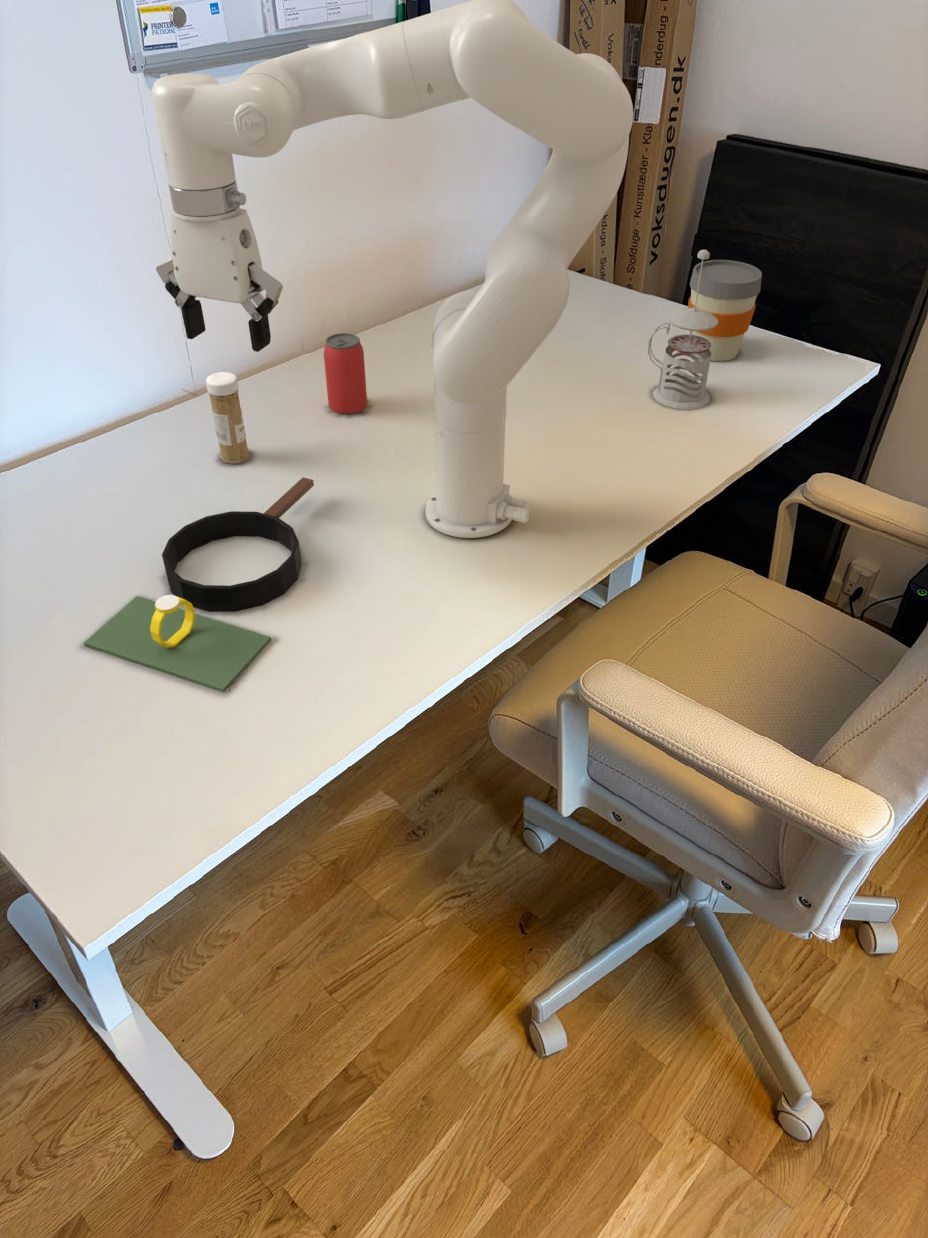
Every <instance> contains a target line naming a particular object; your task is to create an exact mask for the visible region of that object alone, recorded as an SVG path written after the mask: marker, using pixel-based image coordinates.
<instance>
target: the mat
mask: <svg viewBox="0 0 928 1238" xmlns="http://www.w3.org/2000/svg"><path fill="white" fill-rule="evenodd" d="M155 603H156V601H155V600H152V599H149V598H145V597H142V596H138V595H136V596H135V597H134V598H133V599H132V600H130V601H129V602H128V603H127V604H126V605H125V606H124V607H123V608H121V609H120V610H119V611H117V613H116V614H115V615H113V617H111V618H110V619H109V620H108V621H107V622H105V623H104V624H103V625H102V626H101V627H100V628H99V629H98V630H96V631H95V632H94V633H93V634H92V635H91V636H90V637H89V638H87V639H86V640H85V641H84V642H83V645H84V647H87V648H90V649H93V650H96V651H98V652H102V653H105V654H108V655H111V656H114V657H117V658H120V659H123V660H125V661H129V662H131V663H135V664H138V665H141V666H144V667H146V668H150V669H153V670H155V671H159V672H162V673H165V674H168V675H170V676H172V677H173V676H174V677H176V678H180V679H183V680H185V681H189V682H191V683H194V684H198V685H201V686H204V687H207V688H209V689H212V690H214V691H215V690H216V691H218V692H222V693H225V692H226V691H227V690H228V688H229V687H230V686H231V685H232V684H233V683H234V682H235V681H236V680H237V679H238V678H239V676H240V675H241V674H242V673H243V672H244V671H245V670H246V669H247V668H248V667H249V665H250V664H251V663H252V662H253V661H254V660H255V659H256V658H257V657H258V656H259V655H260V653H261V652H262V651H263V650H264V649H265V648H266V647H267V646H268V644H269V643H270V642H271V641H272V637H271V636H269V635H265V634H262V633H259V632H255V631H253V630H249V629H247V628H243V627H240V626H237V625H232V624H230V623H226V622H224V621H220V620H217V619H214V618H211V617H207V616H203V615H200V614H198V613H195V622H194V625H193V628H192V630H191V632H190V634H188V635H187V636H186V637H185V638H184V639H183V640H181V641H180V642H179V643H178V644H177V645H176V646H175V647H172V648H167V647H164V646H162V645H160V644H158V643H157V642H155V641H154V640H153V639H152V635H151V632H150V630H151V629H150V627H151V620H152V617H153V615H154V613H155V611H156V607H155ZM184 620H185V609H181V608H178V610H176V611H175V612H173V613H169V614H166V615H165V617H164V619H163V621H162V624H161V631H160V633H161V637H162V640H163V641H168V640H169V639H170V638H171V637H172V636H173V635H174V634H175V633H176V632H178V631H179V630H180V629H181V627H182V625H183V622H184Z"/></svg>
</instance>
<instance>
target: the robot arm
mask: <svg viewBox="0 0 928 1238" xmlns="http://www.w3.org/2000/svg"><path fill="white" fill-rule="evenodd" d="M151 99H152V105H153V111H154V115H155V121H156V126H157V132H158V137H159V142H160V148H161V153H162V157H163V163H164V168H165V174H166V178H167V179H166V180H167V183H168V189H169V194H170V201H171V206H172V208H171V210H170V211H169V237H170V248H171V257H172V258H170V259H168V260H166V261H164V262H163V263H161V264H159V265H157V266H156V269H155V270H156V272H157V274H158V276H159V278H160V280H161V281H162V283H163V284H164V288H165V290H166V291H167V293H168V294H169V295H170V296H171V297H172V298H173V299H174V304H175V306H176V307H177V308H180V311H181V315H182V321H183V325H184V330H185V336H186V338H187V339H188V340H194V339H195V338H196V337H198V336H200V335H202V334H204V333H205V332H206V324H205V317H204V312H203V306H202V303H201V300H200V299H197V298H203V299H209V300H215V301H220V302H226V303H233V304H240V305H241V307H243V309H244V310H245V312H246V313H247V314H248V315H249V316H250V319H249V320H248V323H247V324H248V330H249V337H250V343H251V349H252V350H253V352H256V353H259V352H261V351H262V350H263V349H264V348H266V347H267V346H269V345H270V344H271V339H272V338H271V337H272V335H271V328H270V322H269V321H270V320H269V314H271V313H272V311H273V309H275V308H276V306H277V305H278V304H279V299H280V297H281V294H282V291H283V288H284V286H283V283H282V282H281V281H279V280H278V279H276V278H275V277H273V276H272V275H270V274H269V273H268V272H267V271H265V270H264V268H263V264H262V258H261V254H260V250H259V245H258V241H257V237H256V234H255V231H254V228H253V227H254V226H253V225H252V221H251V219H250V216H249V213H248V211H247V209H245V208H241V206H245V204H246V202H247V196H246V194H245V193H244V192H240V191H239V190H238V183H237V179H236V173H235V172H236V171H235V165H234V164H235V163H234V157H233V155H235V156H242V157H248V158H258V159H259V158H267V157H272V156H274V155H276V154H278V153H279V152H281V151H282V150H283V149H284V148H285V146H286V145H287V144H288V142H289V141H290V138H291V136H292V134H293V133H294V131H296V130H299V129H302V128H305V127H308V126H311V125H315V124H318V123H322V122H325V121H328V120H329V121H330V120H332V119H336V118H342V117H347V116H356V115H364V116H371V117H374V118H377V119H381V120H382V119H383V120H397V119H402V118H406V117H409V116H412V115H416V114H419V113H422V112H425V111H428V110H431V109H435V108H439V107H442V106H445V105H448V104H452V103H455V102H459V101H464V100H467V99H472V100H473V101H475V102H476V103H477V104H479V105H480V106H481V107H483V108H484V109H486V110H487V111H489V112H490V113H492V114H493V115H495V116H496V117H498V118H499V119H501V120H503V121H504V122H506V123H508V124H509V125H511V126H513V127H515V128H516V129H518V130H520V131H522V132H523V133H525V134H526V135H528V136H529V137H531V138H533V139H535V140H536V141H538V142H540V143H541V144H543V145H544V146H546V147H548V148H550V149H551V150H552V152H551V155H550V158H549V160H548V162H547V164H546V166H545V168H544V171H543V172H542V173H541V175H540V176H539V178H538V179H537V182H536V183H534V186H533V188H532V189H531V190H530V192H529V194H528V195H527V196H526V197H525V199H524V200H523V202H522V203H521V205H520V206H519V207H518V208H517V210H516V212H515V213H514V214H513V215H512V217H511V218H510V220H509V221H508V222H507V224H506V225H505V226H504V227H503V229H502V230H501V231H500V232H499V234H498V235H497V236H496V238H494V240H493V241H492V243H491V244H490V246H489V248H488V250H487V253H486V256H485V259H484V282H483V284H482V285H481V287H480V289H479V290H463V291H460V292H457V293H455V294H453V295H451V296H449V297H448V298H447V299H446V300H445V301H444V302H443V303H442V304H441V306H440V307H439V309H438V311H437V313H436V314H435V316H434V320H433V324H432V331H431V368H432V374H433V393H434V394H433V405H434V406H433V407H434V408H433V409H434V416H433V417H434V420H433V421H434V424H433V425H434V466H435V467H434V469H435V471H434V473H435V492H434V494H433V495H431V496H430V497H429V499H428V500H427V501H426V503H425V509H424V510H425V512H424V513H425V518H426V520H427V523H428V524H429V525H430V526H431V527H432V528H434V529H435V530H436V531H437V532H440V533H442V534H444V535H447V536H449V537H450V536H451V537H455V538H461V539H462V538H463V539H478V538H485V537H488V536H489V537H490V536H492V535H495V534H497V533H500V532H501V531H503V530H504V529H506V528H507V527H509V525H510V524H511V523H512V521H516V522H520V523H522V524H523V523H524V524H527V523H528V521H529V518H530V515H531V514H530V513H531V512H530V509H528V508H527V507H528V500H525V499H521V498H516V497H515V498H514V497H513V495H511V494H510V493H511V492H510V490H511V489H510V488H511V485H509V484H507V483H504V477H505V476H504V473H505V472H504V471H505V445H506V417H507V397H508V396H507V395H508V393H507V389H508V385H509V384H510V383H511V382H512V381H513V380H514V379H515V377H516V376H517V375H518V373H519V372H520V371H521V370H522V368H523V367H524V366H525V365H526V364H527V363H528V361H529V360H530V359H531V357H532V356H533V355H534V354H535V352H537V350H538V348H539V347H540V346H541V345H542V344H543V342H544V341H545V340H546V339H547V337H548V336H549V335H550V334H551V332H552V331H553V330H554V329H555V327H556V325H558V322H559V321H560V320H561V317H562V315H563V313H564V311H565V309H566V306H567V304H568V300H569V296H570V278H569V273H568V269H569V266H570V265H571V263H572V261H573V260H574V259H575V257H576V256H577V254H578V253H579V251H580V250H581V249H582V248H583V246H584V245H585V244H586V242H587V240H588V239H589V238H590V237H591V235H592V233H593V232H594V231H595V229H596V228H597V227H598V225H599V223H600V222H601V221H602V219H603V218H604V216H605V215H606V213H607V211H608V210H609V209H610V207H611V205H612V203H613V201H614V199H615V197H616V195H617V193H618V191H619V189H620V186H621V183H622V181H623V177H624V174H625V169H626V166H627V161H628V155H629V154H628V153H629V145H630V144H629V143H630V134H631V130H632V127H633V122H634V108H633V107H634V105H633V102H632V97H631V94H630V93H629V90H628V88H627V86H626V85H625V84H624V82H623V81H622V79H621V77H620V75H619V73H618V72H617V70H616V68H615V67H614V66H613V65H612V64H610V63H609V61H607V59H605V58H603V57H602V56H600V55H598V54H594V53H590V52H589V53H587V52H583V53H575V52H574V51H572V50H570V49H569V48H567V47H565V46H564V45H562V44H561V43H559V42H557V40H554V39H553V38H551V37H550V36H549V35H547V34H546V33H545V32H543V31H541V30H540V29H539V28H538V27H536V26H535V25H534V24H532V23H531V22H530V21H529V19H528V17H527V15H526V14H525V13H524V11H523V10H522V8H520V6H519V5H518V4H516V3H515V2H514V1H513V0H468V1H465V2H461V3H459V4H455V5H452V6H449V7H446V8H443V9H439V10H436V11H432V12H430V13H427V14H423V15H420V16H417V17H414V18H410V19H407V20H404V21H400V22H397V23H394V24H390V25H386V26H384V27H380V28H376V29H372V30H370V31H365V32H361V33H357V34H354V35H352V36H349V37H346V38H342V39H338V40H334V41H329V42H325V43H322V44H317V45H314V46H311V47H306V48H304V49H300V50H297V51H294V52H291V53H287V54H283V55H280V56H277V57H274V58H271V59H267V60H265V61H262V62H259V63H256V64H254V65H253V66H251V67H249V68H247V70H245V71H244V72H243V73H242V74H241V75H240V76H239V78H237V79H236V80H234V81H233V80H232V81H231V82H228V83H227V82H226V83H220V82H219V81H218V80H217V79H216V78H215V77H213V76H211V75H208V74H205V73H195V72H193V73H190V72H188V73H187V72H186V73H185V72H184V73H175V74H169V75H168V74H167V75H165V76H162V77H160V78H158V79H156V80H155V81H154V83H153V85H152V88H151ZM264 290H265V296H263V295H262V293H261V292H263V291H264Z"/></svg>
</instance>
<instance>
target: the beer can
mask: <svg viewBox="0 0 928 1238" xmlns="http://www.w3.org/2000/svg"><path fill="white" fill-rule="evenodd" d="M364 351H365V350H364V348H363V345H362V343H361V339H360V337H359V336H358V335H356V334H353V333H349V332H348V333H347V332H341V333H335V334H334V333H333V334H332V335H330V336H328V337H327V338H326V339H325V345H324V348H323V363H324V372H325V373H324V374H325V383H326V393H327V395H326V396H327V404H328V407H329V409H330V410H331V411H332V412H334V413H335V414H339V415H344V416H347V415H349V416H350V415H354V414H355V415H356V414H358V413H361V412H362V411H364V410H365V409H366V407H367V406H368V395H367V380H366V379H367V378H366V366H365V365H366V364H365V352H364Z"/></svg>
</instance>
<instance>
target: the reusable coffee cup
mask: <svg viewBox="0 0 928 1238" xmlns="http://www.w3.org/2000/svg"><path fill="white" fill-rule="evenodd" d="M701 263H702V261H701V262H698V263H697V264H695V266H694V267H693V269H692V273H691V277H690V282H689V287H690V297H688V305H687V306H688V307H687V308H695V301H696V295H697V289H698V282H699V276H700V270H701ZM762 275H763V273H762V271H761V270H760V269H759V268H758V267H756V266H755V265H753V264H749V263H746V262H741V261H737V260H730V259H712V260H706V261H703V266H702V272H701V278H700V284H699V291H698V297H697V303H696V308H698V309H703V310H705V311H708V312H710V313H711V314H712V315H713V316H714V317H716V318H717V319H718V324H717V325H716V326H715V327H714V328H713V329H711V330H708V331H692V334H693V335H695V336H696V335H697V336H699V337H702V338H705V339H707V340H708V341H709V342H710V343H711V347H710V348H709V350H710V351H711V359H710V362H725V361H730V360H733V359H735V358H737V356H738V354H739V351H740V348H741V345H742V342H743V339H744V335H745V333H747V332H748V330H749V328H750V325H751V323H752V319H753V316H754V313H755V310H756V299H757V297H758V295H759V294H760V292H761V290H762V289H761V286H762V278H763V277H762ZM690 333H691V331H689V334H690ZM692 355H694V356H695V357H696V358H698V359H701V360H704V359H703V358H701V357H700V356H699V355H697V354H692Z"/></svg>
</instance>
